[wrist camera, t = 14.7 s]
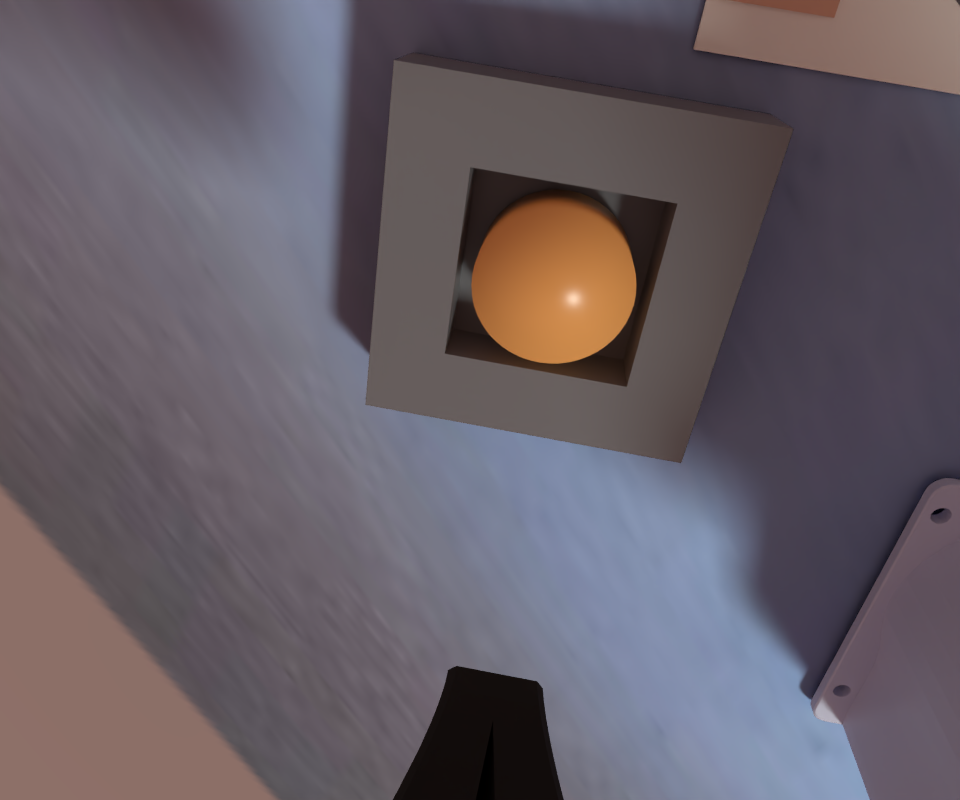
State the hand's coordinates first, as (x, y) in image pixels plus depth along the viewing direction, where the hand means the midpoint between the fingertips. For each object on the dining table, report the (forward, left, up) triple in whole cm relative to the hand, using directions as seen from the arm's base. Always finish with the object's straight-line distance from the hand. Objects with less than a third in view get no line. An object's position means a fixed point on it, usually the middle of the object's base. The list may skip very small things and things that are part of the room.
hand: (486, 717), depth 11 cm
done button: (+4, 0, -10) cm, 10 cm away
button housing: (+4, 0, -10) cm, 11 cm away
